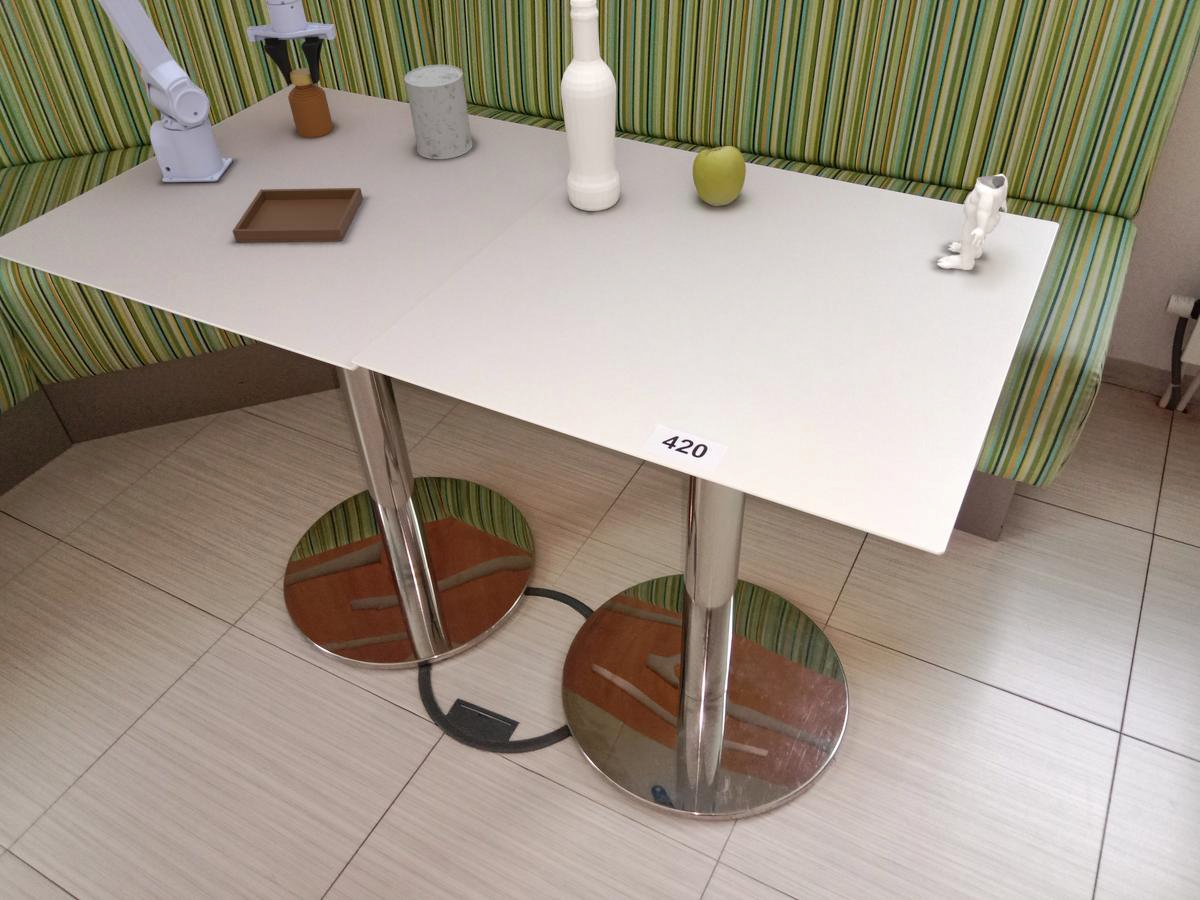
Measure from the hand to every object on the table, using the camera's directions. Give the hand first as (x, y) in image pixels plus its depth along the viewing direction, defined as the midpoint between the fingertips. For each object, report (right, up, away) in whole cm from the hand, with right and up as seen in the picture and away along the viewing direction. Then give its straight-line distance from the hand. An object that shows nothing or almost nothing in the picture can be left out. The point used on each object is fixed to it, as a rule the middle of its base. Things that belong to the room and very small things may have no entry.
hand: (303, 82), depth 168 cm
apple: (+70, -26, -20) cm, 77 cm away
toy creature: (+101, -38, -36) cm, 114 cm away
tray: (+6, -29, -19) cm, 35 cm away
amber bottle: (0, -7, +6) cm, 9 cm away
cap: (0, +1, -1) cm, 1 cm away
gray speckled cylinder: (+25, -12, -2) cm, 28 cm away
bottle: (+51, -26, -19) cm, 60 cm away
